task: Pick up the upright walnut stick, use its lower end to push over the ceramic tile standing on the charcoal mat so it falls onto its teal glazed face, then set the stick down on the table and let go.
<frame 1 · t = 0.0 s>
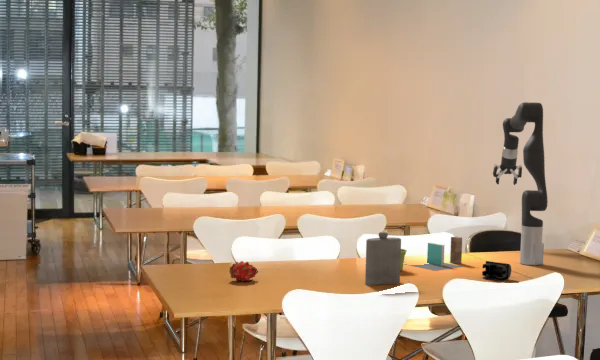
hand: (506, 184, 431), 31 cm above the table, tool tilted 20°, fingers open, 8 cm apart
mat: (430, 265, 367), on the table
flask: (382, 283, 326), on the table
walnut stick: (455, 264, 372), on the table
plant pot: (395, 270, 354), on the table
dragon fruit: (243, 281, 325), on the table
end cap: (496, 279, 340), on the table
tile: (435, 264, 368), resting on mat
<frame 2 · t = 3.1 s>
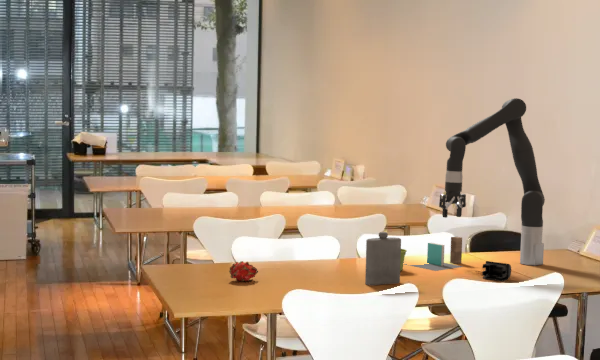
hand: (451, 217, 375), 21 cm above the table, tool pointing down, fingers open, 8 cm apart
nothing on the table moved.
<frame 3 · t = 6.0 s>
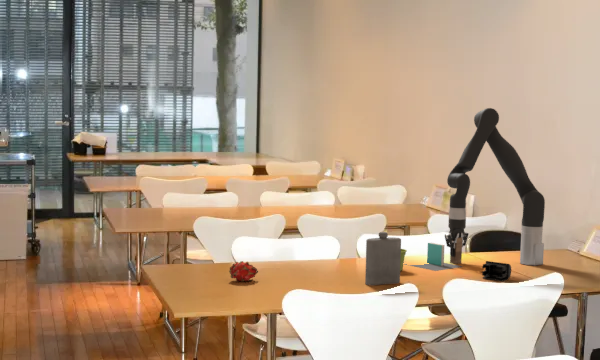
hand: (455, 255, 372), 4 cm above the table, tool pointing down, fingers closed on walnut stick, 3 cm apart
walnut stick: (455, 263, 372), on the table, touching gripper
everything else where it was.
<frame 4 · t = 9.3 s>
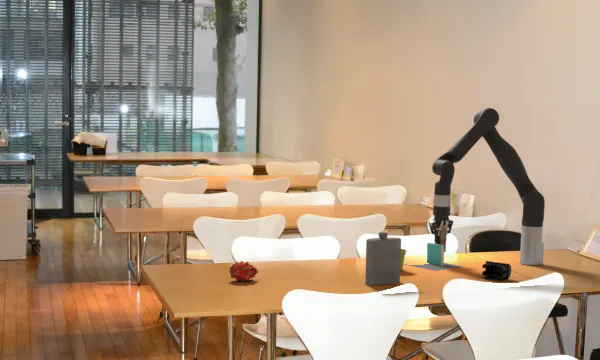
hand: (440, 243, 370), 9 cm above the table, tool pointing down, fingers closed on walnut stick, 3 cm apart
walnut stick: (440, 251, 370), point 6 cm above the table, touching gripper
tile: (435, 264, 368), resting on mat, touching gripper
everything else where it was.
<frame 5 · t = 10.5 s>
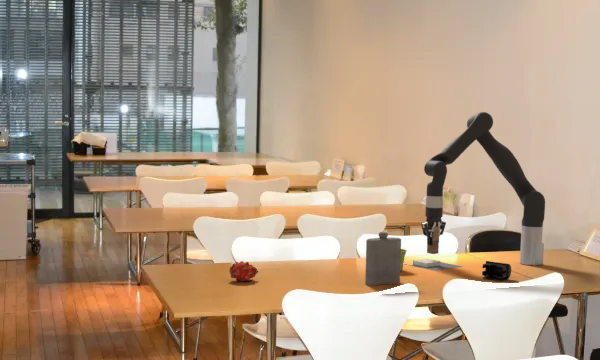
hand: (433, 244, 366), 9 cm above the table, tool pointing down, fingers closed on walnut stick, 3 cm apart
walnut stick: (432, 253, 367), point 5 cm above the table, touching gripper
tile: (433, 262, 368), point 1 cm above the table, tilted 90°, touching mat
everything else where it was.
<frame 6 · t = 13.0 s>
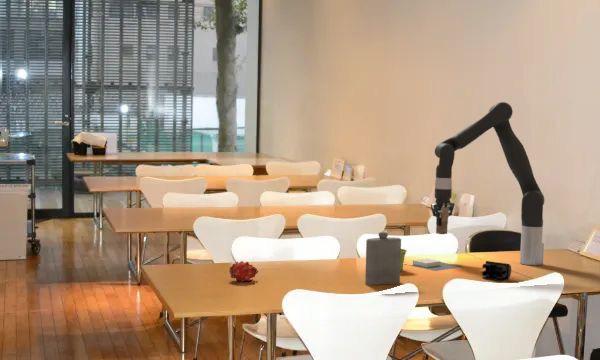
hand: (442, 225, 377), 16 cm above the table, tool pointing down, fingers closed on walnut stick, 3 cm apart
walnut stick: (441, 233, 377), point 13 cm above the table, touching gripper
everything else where it was.
when the fingers open (5 cm above the table, at t = 15.3 s): walnut stick stays where it is, on the table.
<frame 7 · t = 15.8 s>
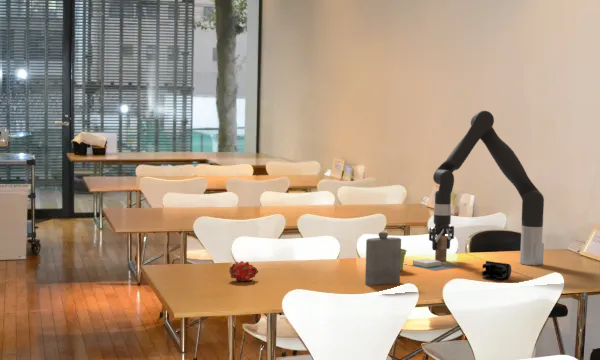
hand: (441, 249, 377), 6 cm above the table, tool pointing down, fingers open, 8 cm apart
walnut stick: (440, 261, 378), on the table
everything else where it was.
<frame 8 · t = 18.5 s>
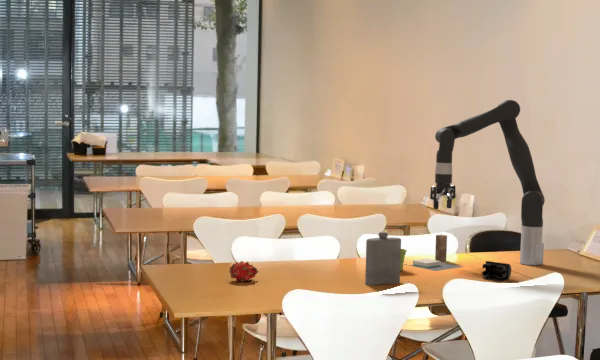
hand: (442, 208, 376), 24 cm above the table, tool pointing down, fingers open, 8 cm apart
nothing on the table moved.
at the end: tile tilted 90°; the gripper is holding nothing; walnut stick on the table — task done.
